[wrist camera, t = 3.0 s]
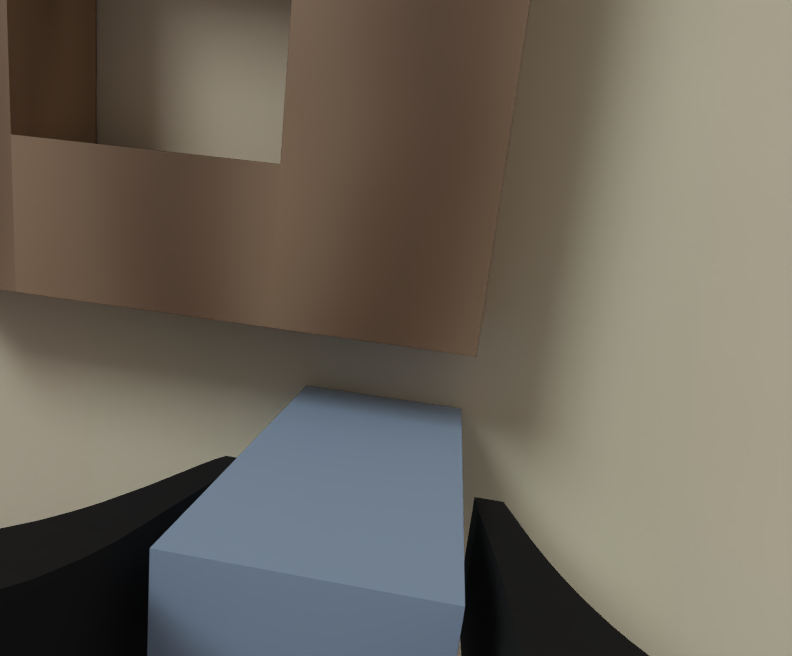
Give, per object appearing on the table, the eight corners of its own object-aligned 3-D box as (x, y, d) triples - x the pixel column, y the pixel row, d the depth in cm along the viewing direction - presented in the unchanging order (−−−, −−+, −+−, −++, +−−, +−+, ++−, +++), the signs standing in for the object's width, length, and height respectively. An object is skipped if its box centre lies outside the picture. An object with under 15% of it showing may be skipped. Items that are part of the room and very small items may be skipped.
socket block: (-51, 260, 14) (-159, 267, 11) (-82, -282, 11) (-228, -420, 9) (472, 331, 13) (476, 356, 10) (561, -262, 10) (593, -417, 8)
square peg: (294, 524, 14) (144, 798, 7) (306, 385, 13) (149, 548, 7) (440, 549, 14) (423, 862, 7) (461, 408, 13) (464, 607, 6)
